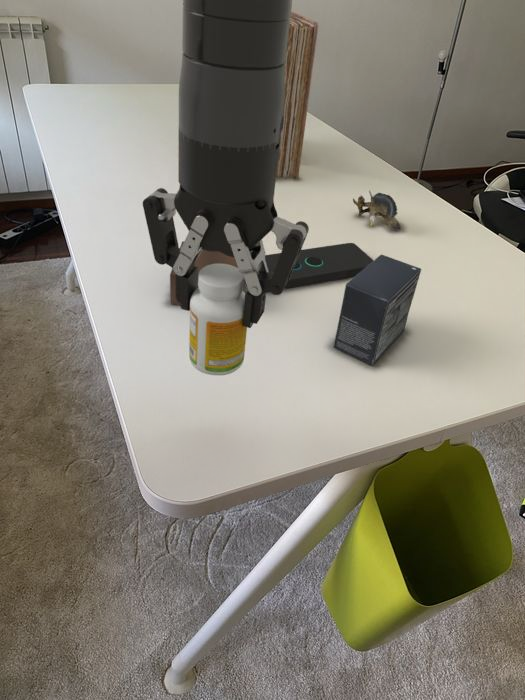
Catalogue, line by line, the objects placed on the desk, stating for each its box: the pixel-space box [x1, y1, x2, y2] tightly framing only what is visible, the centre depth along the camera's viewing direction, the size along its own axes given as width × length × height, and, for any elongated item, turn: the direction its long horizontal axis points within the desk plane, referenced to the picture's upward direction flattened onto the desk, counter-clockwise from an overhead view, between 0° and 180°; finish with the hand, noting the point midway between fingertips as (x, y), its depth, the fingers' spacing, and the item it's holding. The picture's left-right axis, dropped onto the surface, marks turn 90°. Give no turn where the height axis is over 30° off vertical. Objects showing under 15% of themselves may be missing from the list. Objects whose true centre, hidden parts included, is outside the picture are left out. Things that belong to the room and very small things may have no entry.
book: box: [276, 10, 319, 180], centre depth 119 cm, size 25×9×30 cm, turn 21°
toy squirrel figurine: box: [352, 190, 402, 232], centre depth 105 cm, size 8×7×9 cm
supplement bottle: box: [188, 264, 248, 377], centre depth 51 cm, size 5×5×10 cm
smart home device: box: [265, 242, 375, 290], centre depth 90 cm, size 8×2×20 cm
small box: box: [333, 254, 422, 366], centre depth 74 cm, size 11×6×10 cm, turn 145°
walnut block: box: [169, 240, 238, 306], centre depth 82 cm, size 10×10×5 cm
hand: (219, 313), depth 51 cm, fingers closed on supplement bottle, 5 cm apart
